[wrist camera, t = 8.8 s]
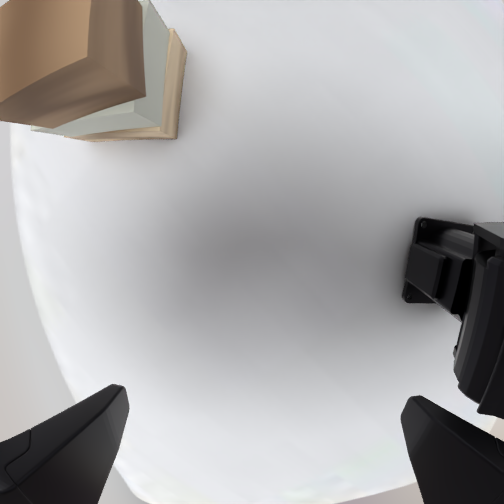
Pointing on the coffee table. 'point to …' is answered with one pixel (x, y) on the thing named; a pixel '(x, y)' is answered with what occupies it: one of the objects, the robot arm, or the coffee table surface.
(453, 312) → the robot arm
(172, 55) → the tower base
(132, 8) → the walnut block
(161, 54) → the tower top
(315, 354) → the coffee table surface
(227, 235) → the coffee table surface
